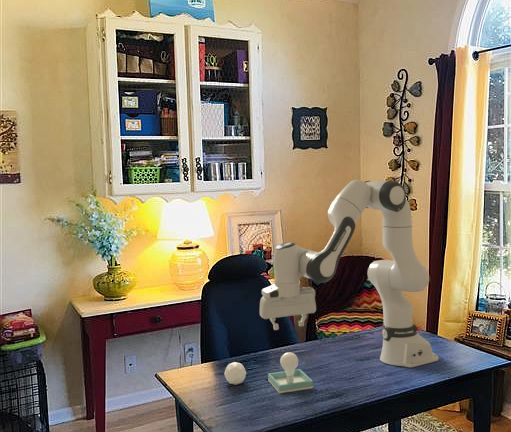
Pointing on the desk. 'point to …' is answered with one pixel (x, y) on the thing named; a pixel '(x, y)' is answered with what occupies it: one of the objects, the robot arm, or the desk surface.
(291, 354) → the lightbulb
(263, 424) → the desk surface
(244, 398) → the desk surface
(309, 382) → the dish
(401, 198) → the robot arm
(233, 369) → the geometric ball
